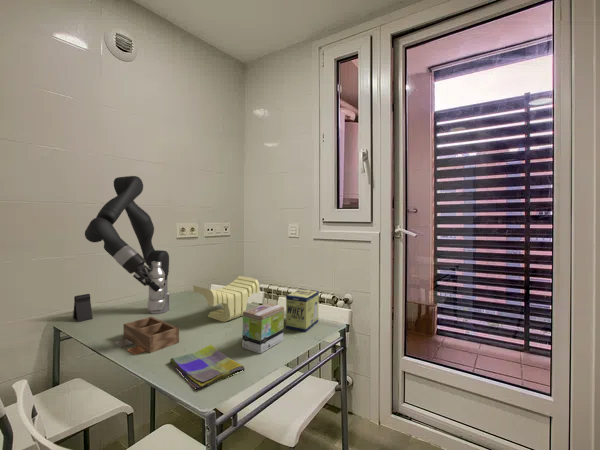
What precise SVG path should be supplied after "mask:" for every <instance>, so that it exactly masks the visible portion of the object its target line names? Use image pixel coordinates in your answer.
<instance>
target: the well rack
mask: <svg viewBox="0 0 600 450" xmlns="http://www.w3.org/2000/svg"><path fill="white" fill-rule="evenodd" d="M179 343H180V328H179V327H178V326H175V325H173V324H170V323H168V322H165V321H163V320H161V319H159V318H155V317H154V316H148V317H144V318H140V319H138V320H134V321H129V322H126V323H124V324H123V339H121V340H118V341H115V344H116V345H118V346H120V347H121V348H124V347H127V346H130V345H133V344H134V345H135V346H133V347H130V348H127V352H129V353H131V354H132V353H133V355H134V356H135V354H136V355H138V353H139V354H141V352H142V353H144V352H147V351H148V352H147V353H149V352H150V353H149V354H151V352H152V353H154V352H157V351H160V350H162V349H164V348H168V347H170V346H173V345H175V344H176V345H177V344H179Z"/></svg>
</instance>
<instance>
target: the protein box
mask: <svg viewBox="0 0 600 450" xmlns="http://www.w3.org/2000/svg"><path fill="white" fill-rule="evenodd" d="M319 295H320V291H318V290H313V289H312V290H311V289H306V288H299V289H297V290H295V291H293V292H291V293H289V294H287V295H286V296H285V297H286V298H285V301H286V302H285V309H286V310H285V317H286V318H285V329H289V330H293V331H294V330H295V331H299V332H303V333H307V332H308V331H309V330H310V329H311V328H313V327H314V326H315V325H316V324H317V323H319V299H320V298H319Z"/></svg>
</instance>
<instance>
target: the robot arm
mask: <svg viewBox="0 0 600 450" xmlns="http://www.w3.org/2000/svg"><path fill="white" fill-rule="evenodd" d="M113 187H114V192H115V193H116V195H117V196H115V197H113V198H111V199H110V200H108V201H107V202H105V204H104V205H103V206H101V209H100V210H99V211H98V214H97V215H96V217H94V218H92V219H91V221H90V222H89V223H88V226H87V227H86V229H85V231H84V237H85V239H86V240H87V241H89V242H90V243H100V242H102V241H103V249H104V250H105V252H107V253H108V254H109V255H110V256H111V257H112V258H113V259H114V260H115V261H116V263H117V264H118V265H120V266H121V268H123V269H125V271H126V272H128V274H133V275H132V277H133V278H134V279H135V280H137V281H138V282H139V283H141V284H142V285H143V286H144V287H146V286H147V287H149V286H150V287H151V288H152V289H153V290H154V291H155V292H157V291H158V290H159V289H160V287H159V286H158V285H157V284H156V283H155V282H153V280H152V279H151V278H150V275H149V271H150V270H151V268H152V267H151V262H154V261H161V265H162V266H161V268H162V270H163V271H164V273H165V279H164V287H163V288H164V299H165V308H164V309H163V310H161V311H155V312H152V311H149V310H148V314H149V313H150V314H153V315H158V314H163V313H166V312H168V311H170V292H168V290H169V289H168V286H169V284H168V276H169V271H170V255H169V253H168V251H166V250H162V249H161V250H159V249H155V248H154V246H153V243H152V239H153V236H154V234H155V233H154V232H155V227H154V226H155V225H154V223H153V220H152V218H151V216H150V215H149V214H148V213H147V212H146V211H145V210H144V209H143V208H142V207H141V206H139V205H138V204H137V203H136V202H135V201H134V200H136V199H137V198H138V197H139V196H140V195H141V194H142V193H143V190H144V183H143V180H142V178H140V177H139V176H137V175H128V176H119V177H115V178H114V180H113ZM124 210H125V213H126V214H127V217H128V219H129V221H130V224H131V227H132V229H133V232H134V234H135V236H136V239H137V241H138V244H139V246H140V249H141V250H140V251H141V253H142V255H141V254H140V253H139V252H137V250H136V249H135V248H133V247H132V246H130V245H129V244H128V243H127V242H126V241H125V240H124V239H122V238H121V237H120V235H119V233H118V231H117V230H116V229H115V227H114V224H115V223H116V222H117V220H118V219H119V218H120V217H121V215H122V213H123V212H124ZM145 264H146V265H145Z"/></svg>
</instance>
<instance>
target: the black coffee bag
mask: <svg viewBox="0 0 600 450" xmlns="http://www.w3.org/2000/svg"><path fill="white" fill-rule="evenodd" d="M72 319H73V320H75V322H78V323H80V322H85V321H88V320H92V319H93V312H92V303H91V294H90V293H87V294H86V293H85V294H79V295H75V296H74V304H73V311H72Z"/></svg>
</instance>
